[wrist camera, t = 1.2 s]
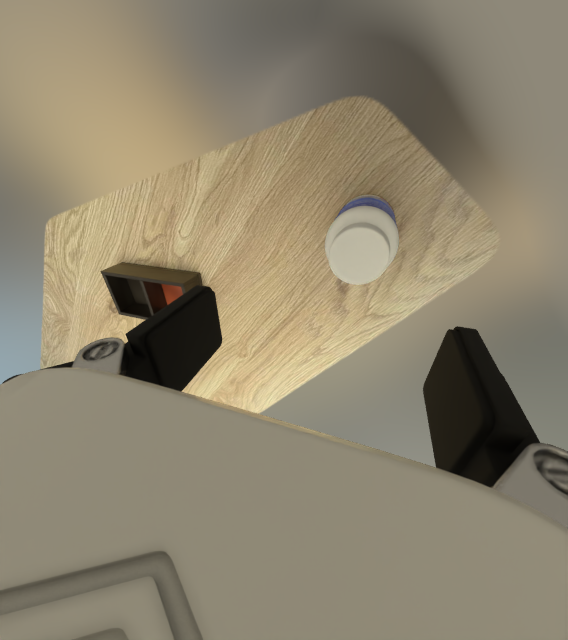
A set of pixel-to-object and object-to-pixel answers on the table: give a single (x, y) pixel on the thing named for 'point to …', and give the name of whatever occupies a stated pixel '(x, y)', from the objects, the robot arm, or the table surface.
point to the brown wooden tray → (146, 287)
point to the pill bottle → (362, 240)
